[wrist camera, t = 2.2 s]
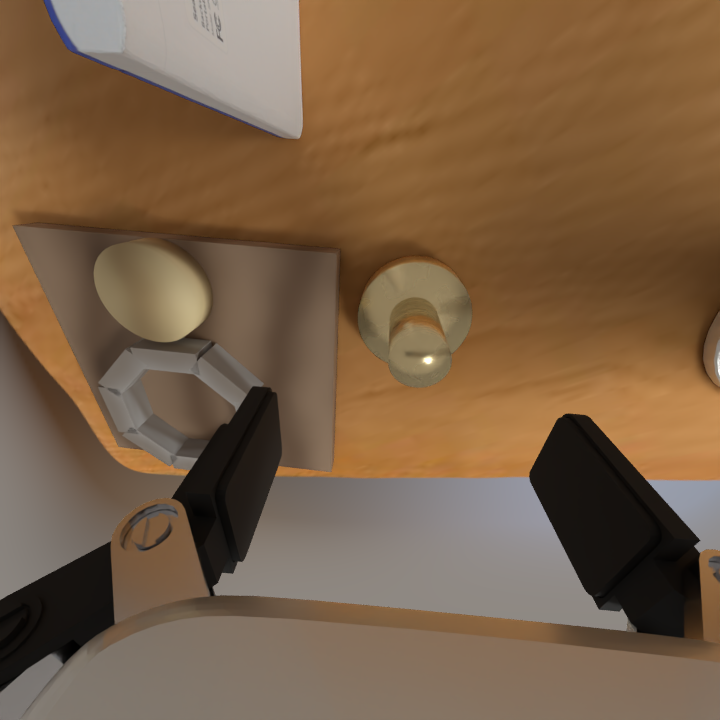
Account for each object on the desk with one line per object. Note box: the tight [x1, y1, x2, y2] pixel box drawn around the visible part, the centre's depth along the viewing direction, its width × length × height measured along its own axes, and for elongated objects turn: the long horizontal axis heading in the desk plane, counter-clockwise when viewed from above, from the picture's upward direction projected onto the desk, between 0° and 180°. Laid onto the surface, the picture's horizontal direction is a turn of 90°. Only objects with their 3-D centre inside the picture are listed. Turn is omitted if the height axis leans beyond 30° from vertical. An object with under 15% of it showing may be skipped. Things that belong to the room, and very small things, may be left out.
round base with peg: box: [358, 255, 472, 387], centre depth 17 cm, size 7×7×7 cm
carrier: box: [12, 223, 340, 472], centre depth 23 cm, size 20×19×4 cm
